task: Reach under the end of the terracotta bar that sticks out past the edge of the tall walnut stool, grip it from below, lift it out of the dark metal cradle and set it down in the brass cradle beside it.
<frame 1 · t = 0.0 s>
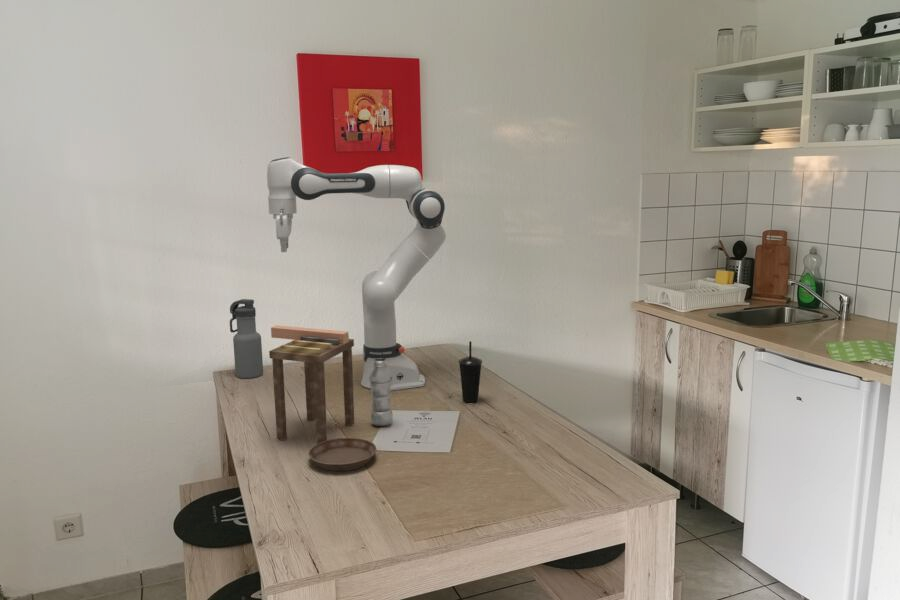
hand: (284, 250, 233), 48 cm above the table, tool pointing down, fingers open, 8 cm apart
plant saucer: (343, 461, 186), on the table
walnut stool: (316, 431, 205), on the table
plastic bottle: (381, 425, 210), on the table
terracotta bar: (309, 339, 205), point 26 cm above the table, touching walnut stool
water bottle: (249, 375, 258), on the table
drinking cup: (470, 401, 229), on the table
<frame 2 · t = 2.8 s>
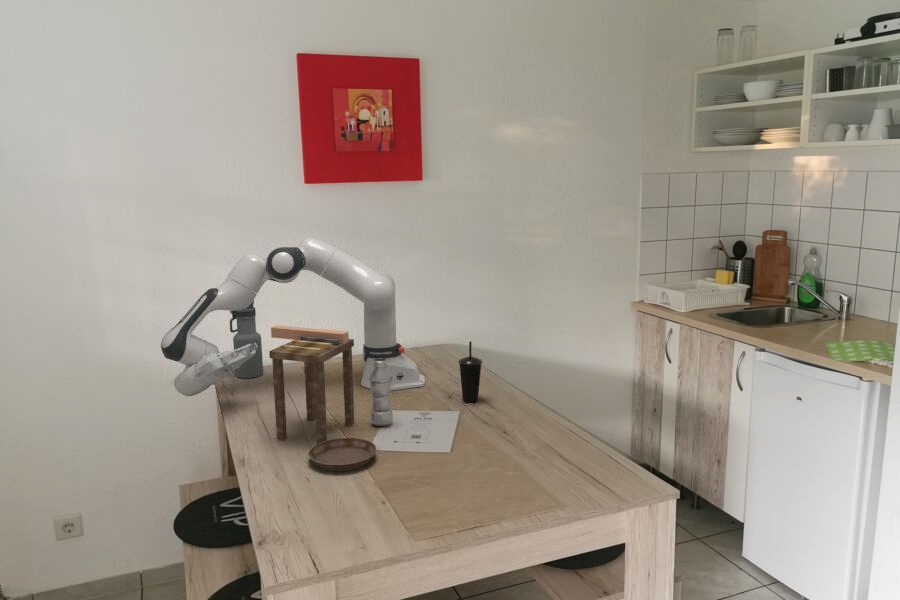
hand: (246, 349, 214), 21 cm above the table, tool pointing upward, fingers open, 8 cm apart
nothing on the table moved.
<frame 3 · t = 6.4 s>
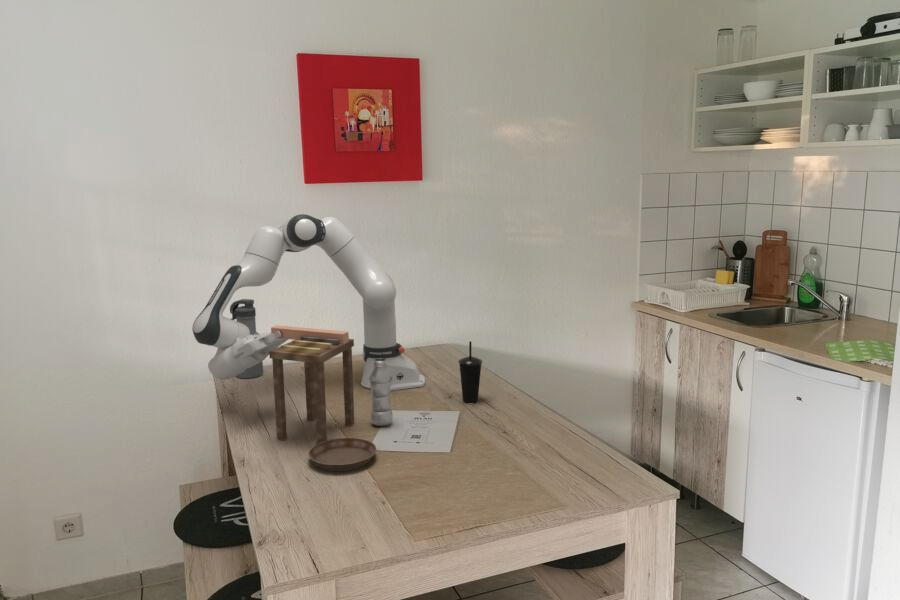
hand: (284, 330, 208), 28 cm above the table, tool pointing upward, fingers closed on terracotta bar, 3 cm apart
terracotta bar: (309, 339, 205), point 26 cm above the table, touching gripper, walnut stool
everything else where it was.
when the fingers open (29 cm above the table, at t = 14.3 s): terracotta bar drops 1 cm, resting on walnut stool.
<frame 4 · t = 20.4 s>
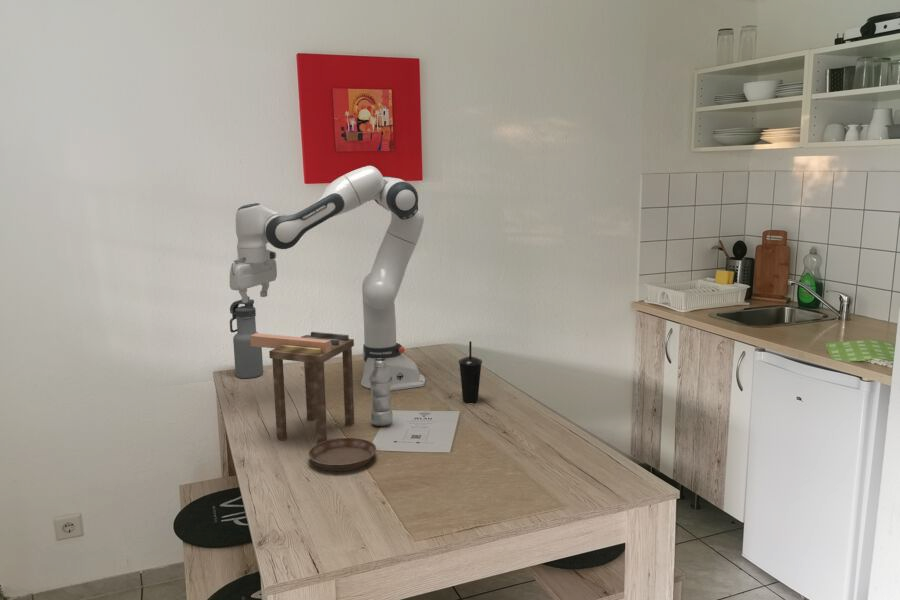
hand: (255, 299, 223), 34 cm above the table, tool pointing down, fingers open, 8 cm apart
terracotta bar: (290, 348, 196), point 26 cm above the table, touching walnut stool
everything else where it was.
at the end: terracotta bar 0.1 cm from the target spot, point 26.0 cm above the table; the gripper is holding nothing; terracotta bar tilted 0° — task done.
